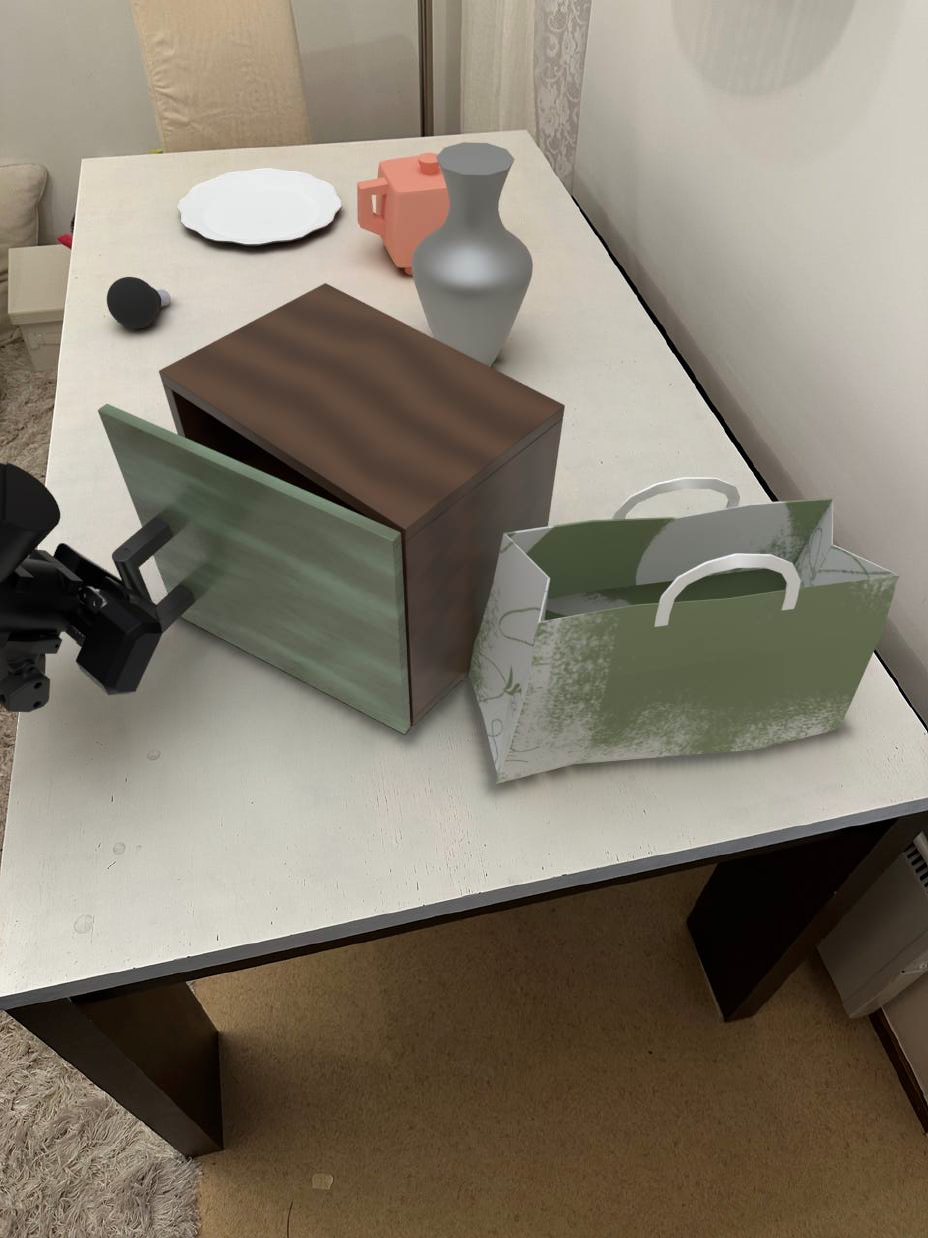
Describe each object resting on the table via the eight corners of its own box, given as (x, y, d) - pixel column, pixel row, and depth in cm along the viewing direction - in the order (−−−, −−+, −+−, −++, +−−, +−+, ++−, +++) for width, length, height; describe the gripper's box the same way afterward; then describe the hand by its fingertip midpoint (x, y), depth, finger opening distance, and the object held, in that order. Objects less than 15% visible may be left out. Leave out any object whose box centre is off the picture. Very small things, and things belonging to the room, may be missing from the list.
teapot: (488, 226, 133) (493, 129, 122) (516, 265, 125) (523, 166, 114) (352, 244, 128) (344, 145, 117) (372, 286, 121) (365, 184, 110)
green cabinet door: (370, 781, 71) (346, 593, 52) (135, 651, 79) (41, 448, 60) (410, 726, 74) (401, 532, 56) (182, 607, 82) (106, 402, 64)
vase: (545, 353, 111) (567, 152, 92) (482, 406, 104) (492, 200, 84) (457, 316, 116) (460, 119, 97) (391, 364, 109) (380, 161, 89)
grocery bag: (776, 619, 84) (869, 432, 66) (841, 738, 75) (967, 560, 57) (461, 662, 80) (468, 475, 62) (491, 794, 71) (509, 621, 53)
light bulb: (181, 271, 114) (130, 278, 106) (190, 321, 117) (141, 332, 108) (143, 272, 116) (90, 279, 108) (153, 321, 119) (102, 331, 111)
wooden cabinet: (413, 726, 74) (405, 529, 56) (220, 578, 85) (158, 370, 66) (536, 609, 83) (565, 404, 64) (348, 488, 94) (325, 282, 75)
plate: (217, 172, 143) (215, 160, 141) (360, 189, 140) (359, 177, 139) (154, 243, 127) (150, 230, 126) (313, 263, 124) (312, 251, 123)
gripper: (-133, 625, 64) (49, 628, 78) (6, 767, 56) (178, 742, 70) (-83, 493, 61) (95, 521, 75) (69, 624, 54) (233, 628, 68)
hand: (146, 603), depth 72 cm, fingers closed on green cabinet door, 2 cm apart
